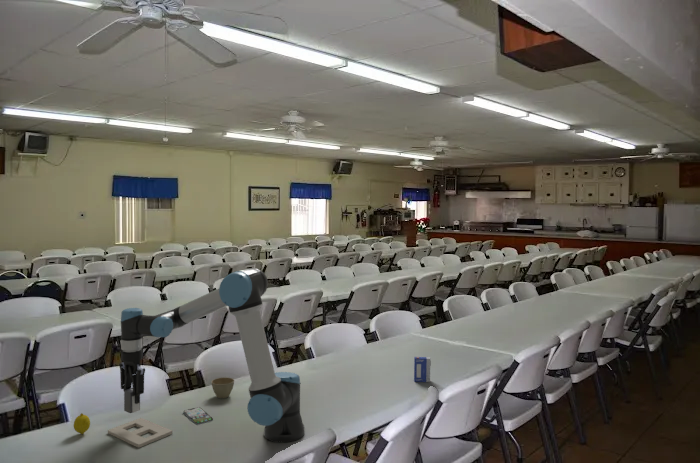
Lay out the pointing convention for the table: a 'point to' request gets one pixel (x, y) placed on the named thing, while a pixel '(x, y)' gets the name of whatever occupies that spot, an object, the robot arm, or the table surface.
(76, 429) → the fruit
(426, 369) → the walkman
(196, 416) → the smartphone
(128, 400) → the dark grey rectangular block
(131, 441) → the outlet plate
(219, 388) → the flower pot
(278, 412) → the robot arm
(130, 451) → the table surface
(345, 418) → the table surface
